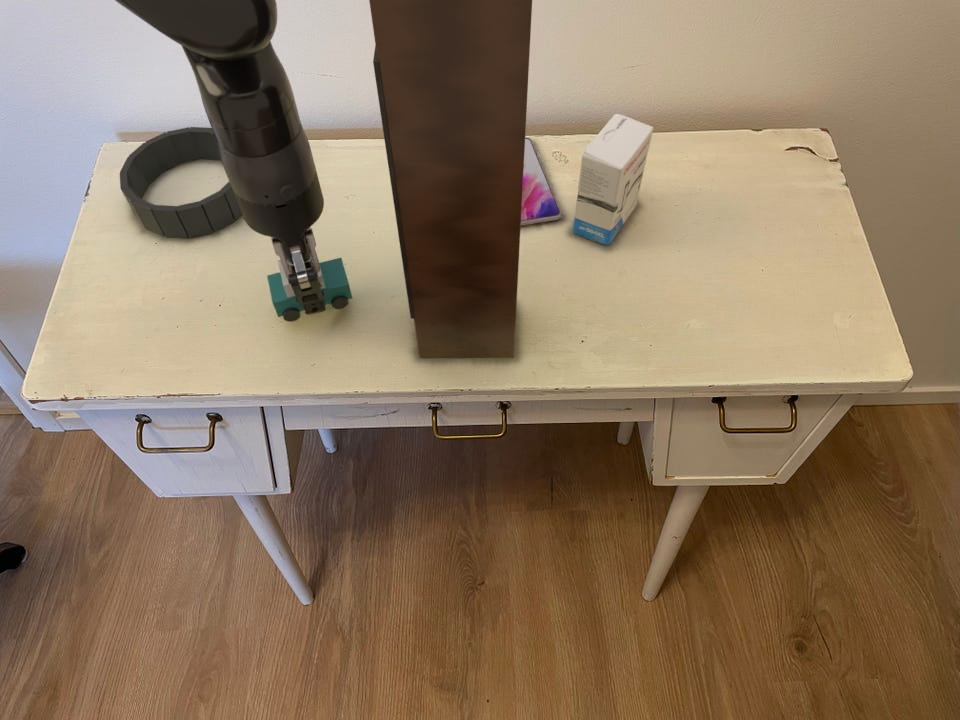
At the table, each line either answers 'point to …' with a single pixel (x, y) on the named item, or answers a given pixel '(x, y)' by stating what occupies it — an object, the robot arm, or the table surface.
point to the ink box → (611, 178)
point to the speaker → (456, 163)
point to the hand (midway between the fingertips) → (311, 294)
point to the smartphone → (536, 190)
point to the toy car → (332, 288)
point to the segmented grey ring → (163, 157)
